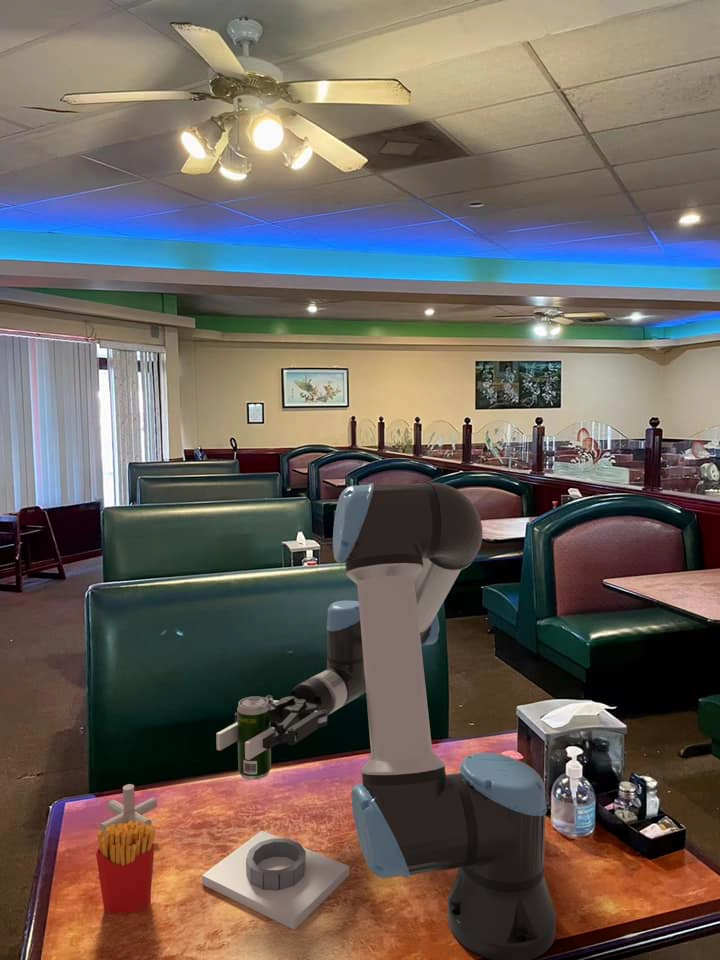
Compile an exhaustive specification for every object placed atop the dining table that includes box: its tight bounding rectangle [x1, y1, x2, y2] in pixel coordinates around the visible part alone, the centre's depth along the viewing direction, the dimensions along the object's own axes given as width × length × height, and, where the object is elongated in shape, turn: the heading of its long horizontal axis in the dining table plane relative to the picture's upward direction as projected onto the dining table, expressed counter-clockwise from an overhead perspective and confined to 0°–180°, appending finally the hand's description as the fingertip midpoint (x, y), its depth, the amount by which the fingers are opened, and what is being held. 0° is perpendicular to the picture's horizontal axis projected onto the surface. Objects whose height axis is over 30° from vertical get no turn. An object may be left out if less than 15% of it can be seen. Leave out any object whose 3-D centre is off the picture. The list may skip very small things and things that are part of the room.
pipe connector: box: [99, 783, 158, 836], centre depth 119 cm, size 10×10×10 cm
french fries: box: [95, 820, 157, 914], centre depth 104 cm, size 8×4×12 cm, turn 93°
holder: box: [201, 830, 350, 931], centre depth 109 cm, size 18×14×4 cm
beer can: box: [236, 696, 272, 781], centre depth 116 cm, size 5×5×12 cm
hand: (232, 746), depth 111 cm, fingers closed on beer can, 5 cm apart
